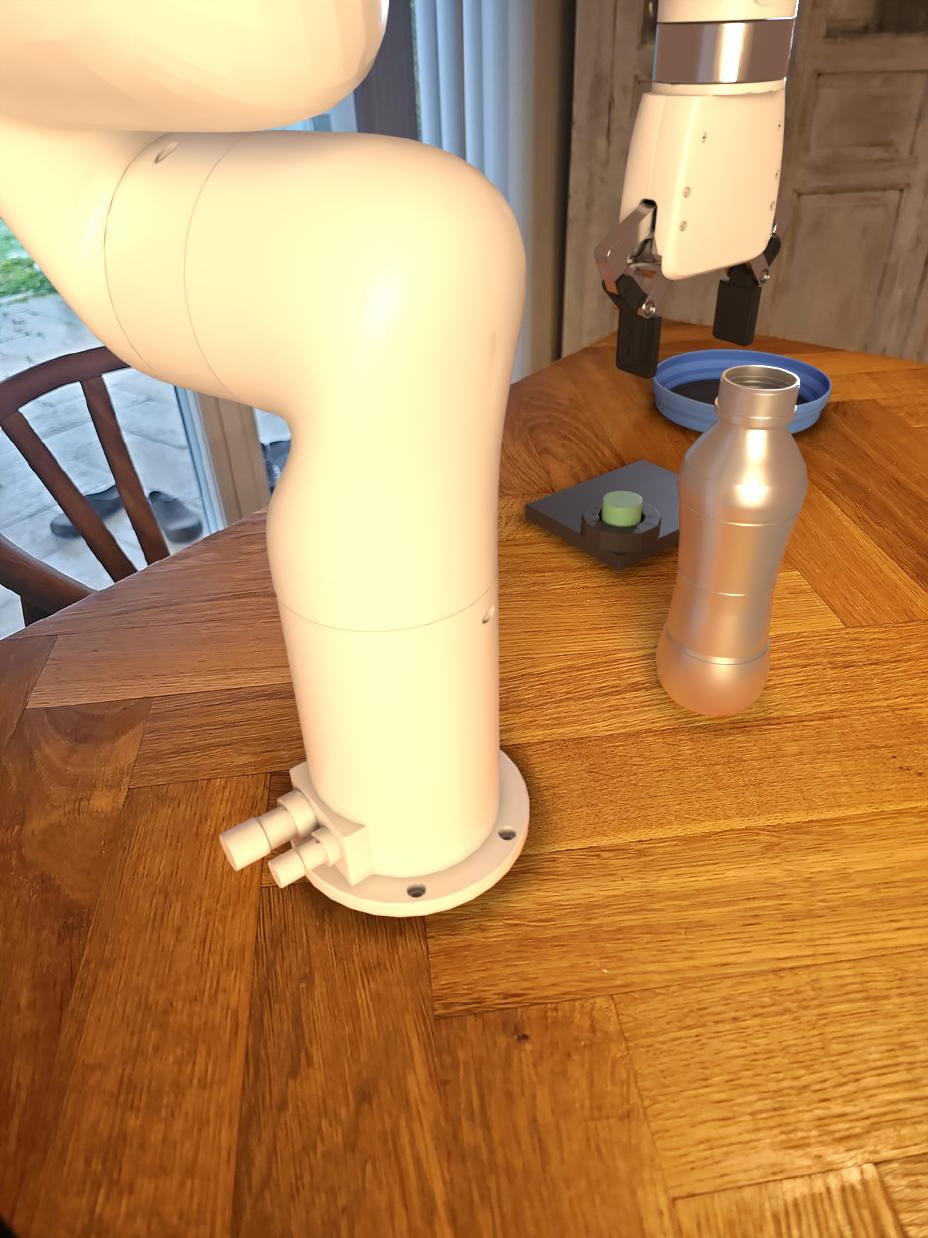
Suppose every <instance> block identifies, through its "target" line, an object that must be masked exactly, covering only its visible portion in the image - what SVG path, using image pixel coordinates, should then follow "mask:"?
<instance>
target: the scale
mask: <svg viewBox="0 0 928 1238" xmlns="http://www.w3.org/2000/svg"><path fill="white" fill-rule="evenodd" d="M614 491H628V492H633V493H635V494H637V495H639V496H640V497H641V498H642V500H643V503H642V512H641V521H640V523H639V524H637V525H635V526H630V527H617V526H612V525H608V524H606V523H604V522H603V521H602V504H603V497H604V496H605V495H606V494H608V493H610V492H614ZM525 520H528V521H529V522H531V523H533V524H535V525H536V526H538V527H540V528H542V529H543V530H544V531H547V532H548V533H550V534H552V535H554V536H555V537H557V538H559V539H561V540H563V541H564V542H566V543H567V544H570V545H571V546H573V547H575V548H577V549H578V550H580V551H582V552H583V553H585V554H587V555H588V556H590V557H592V558H594V559H595V560H598V561H600V562H601V563H603V564H604V565H606V566H608V567H610V568H611V569H613V570H615V571H617V572H621V571H623V570H625V569H627V568H629V567H632V566H635V565H636V564H638V563H640V562H642V561H644V560H647V559H649V558H650V557H653V556H655V555H657V554H659V553H662V552H663V551H665V550H667V549H670V548H672V547H674V546H676V545H679V535H680V530H679V504H678V473H676V472H673V471H670V470H669V469H667V468H664V467H662V466H659V465H657V464H654V463H652V462H651V461H648V460H646V459H643V458H642V459H639V460H637V461H634V462H631V463H629V464H626V465H624V466H622V467H619V468H616V469H614V470H611V471H609V472H606V473H603V474H601V475H598V476H596V477H593V478H591V479H588V480H585V481H582V482H581V483H577V484H575V485H573V486H570V487H568V488H564V489H562V490H560V491H559V490H558V491H557V492H554V493H552V494H549V495H547V496H544V497H541V498H539V499H536V500H533V501H531V502H529V503H526V504H525Z"/></svg>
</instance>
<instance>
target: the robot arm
mask: <svg viewBox="0 0 928 1238" xmlns="http://www.w3.org/2000/svg"><path fill="white" fill-rule="evenodd" d="M798 4H799V0H658V3H657V16H656V23H657V24H656V29H655V42H654V54H653V66H652V67H653V68H652V77H651V78H652V81H651V91H649V92H643V93H642V95H641V99H640V102H639V105H638V109H637V113H636V116H635V120H634V125H633V129H632V133H631V138H630V144H629V148H628V154H627V160H626V164H625V165H626V166H625V172H624V178H623V186H622V194H621V201H620V210H619V220H618V225H616V226H615V227H614V228H613V229H612V230H611V231H610V232H609V233H608V234H607V235H606V236H605V237H604V238H603V239H602V240H601V241H599V243H597V245H596V246H595V248H594V251H593V257H594V260H595V263H596V266H597V269H598V272H599V275H600V278H601V279H602V280H601V288H602V289H603V291H604V292H605V293H606V294H607V296H608V298H609V300H611V307H612V309H613V310H615V311H618V321H617V322H618V323H617V335H616V351H615V367H616V369H618V370H619V371H622V372H625V373H627V374H630V375H633V376H636V377H639V378H641V379H644V380H650V379H652V378H653V377H655V375H656V373H657V365H658V364H659V355H660V344H661V336H662V335H661V334H662V325H663V324H662V323H663V321H662V319H663V317H662V315H659V314H655V313H656V311H657V310H658V308H659V306H660V305H661V302H662V301H663V300H664V297H665V295H666V294H667V292H668V290H669V289H670V287H671V285H672V284H673V282H674V281H681V280H685V279H691V278H694V277H698V276H702V275H705V274H709V273H713V272H717V271H721V270H724V273H725V275H726V277H727V278H728V279H727V278H721V279H719V281H718V286H717V294H716V302H715V309H714V316H713V325H712V333H711V334H712V336H713V338H714V339H716V340H720V341H723V342H727V343H731V344H734V345H738V346H740V347H747V346H750V345H752V344H753V343H754V339H755V333H756V326H757V321H758V314H759V307H760V302H761V296H762V290H763V287H762V286H764V285H766V284H767V283H768V281H769V279H770V276H771V269H770V267H771V265H772V263H773V262H774V260H775V259H776V258H777V256H778V255H779V253H780V251H781V248H782V240H783V238H784V236H785V233H786V232H787V229H788V226H789V225H790V222H791V220H792V218H793V214H794V208H793V206H792V205H790V204H789V203H788V202H786V201H785V200H784V199H783V198H782V197H780V196H779V188H780V180H781V170H782V160H783V150H784V149H783V148H784V135H785V134H784V133H785V114H786V113H785V111H786V81H787V75H788V69H789V63H790V56H791V50H792V45H793V38H794V31H795V24H796V17H797V12H798V6H799V5H798ZM389 7H390V0H0V218H1V219H2V221H3V222H4V223H5V225H6V226H7V227H8V229H9V230H10V232H11V233H12V234H13V235H14V237H15V238H16V239H17V241H18V242H19V243H20V244H21V246H22V247H23V248H24V250H25V251H26V252H27V254H28V255H29V256H30V258H31V259H32V260H33V262H34V263H35V264H36V265H37V266H38V268H39V269H40V271H41V272H42V273H43V275H44V276H45V277H46V279H47V280H48V281H49V282H50V284H51V285H52V286H53V288H54V289H55V290H56V292H57V293H58V294H59V295H60V297H61V298H62V300H63V301H64V302H65V303H66V304H67V305H68V307H69V308H70V310H71V311H72V312H73V313H74V314H75V315H76V316H77V318H78V319H79V320H80V322H81V323H83V325H84V326H85V327H86V328H87V329H88V330H89V331H90V332H91V333H92V334H93V336H94V337H95V338H96V339H97V340H98V341H99V342H101V344H102V345H104V347H106V348H107V349H108V351H110V352H111V353H112V354H113V355H115V356H116V357H117V358H118V359H119V360H121V361H122V362H124V363H125V364H126V365H128V366H130V367H131V368H133V369H134V370H136V371H138V372H140V373H141V374H144V375H146V376H148V377H150V378H151V379H155V380H156V381H159V382H162V383H166V384H168V385H171V386H175V387H178V388H181V389H184V390H187V391H192V392H196V393H199V394H203V395H207V396H210V397H215V398H219V399H223V400H226V401H231V402H235V403H238V404H241V405H245V406H249V407H251V408H253V409H255V410H258V411H262V412H265V413H269V414H272V415H274V416H277V417H279V418H281V419H282V420H283V421H284V422H285V423H286V425H287V427H288V429H289V433H290V445H289V452H288V455H287V459H286V462H285V464H284V466H283V469H282V471H281V473H280V475H279V478H278V480H277V482H276V485H275V487H274V488H273V491H272V494H271V496H270V500H269V504H268V507H267V512H266V521H265V542H266V543H265V544H266V551H267V559H268V560H267V561H268V565H269V571H270V576H271V581H272V586H273V590H274V593H275V599H276V602H277V609H278V614H279V618H280V623H281V629H282V634H283V635H282V636H283V639H284V640H283V641H284V645H285V646H284V647H285V650H286V656H287V661H288V666H289V673H290V677H291V683H292V688H293V693H294V698H295V704H296V709H297V714H298V715H297V716H298V721H299V725H300V731H301V735H302V742H303V747H304V753H305V757H306V759H305V760H303V762H300V763H298V764H296V765H294V766H292V767H291V768H289V771H288V772H289V775H290V781H291V785H292V790H290V791H289V792H287V793H285V794H282V795H280V796H279V797H278V798H277V799H276V805H277V807H275V808H273V809H271V810H269V811H267V812H265V813H263V814H261V815H259V816H258V817H254V816H252V817H250V818H248V819H246V820H245V821H243V822H241V823H239V824H237V825H235V826H233V827H230V828H229V829H227V830H224V831H223V832H221V833H219V835H218V839H219V842H220V845H221V848H222V850H223V852H224V854H225V857H226V858H227V860H228V862H229V864H230V865H231V868H232V869H234V871H235V872H238V871H240V870H241V869H243V868H246V867H247V866H249V865H251V864H253V863H255V862H256V861H258V860H260V859H262V858H264V857H265V856H267V855H270V854H271V853H272V851H273V850H275V849H277V848H279V847H280V846H283V845H284V844H285V843H288V842H290V845H291V848H290V849H289V850H287V851H284V852H283V853H281V854H279V855H278V856H276V857H274V858H272V859H270V860H269V861H267V866H268V868H269V871H270V874H271V876H272V878H273V880H274V882H276V885H277V886H278V887H279V888H280V889H283V888H286V887H287V886H288V885H290V884H292V883H294V882H296V881H298V880H300V879H301V878H303V877H304V876H305V877H306V879H308V880H309V883H311V884H312V885H313V886H314V888H316V889H317V890H318V891H320V892H321V893H323V894H324V895H325V896H326V897H328V898H329V899H330V900H332V901H334V902H337V903H339V904H341V905H343V906H345V907H347V908H349V909H351V910H355V911H358V912H362V913H366V914H369V915H372V916H373V915H374V916H384V917H395V918H407V917H418V916H419V917H420V916H427V915H432V914H436V913H439V912H444V911H448V910H451V909H453V908H456V907H458V906H461V905H464V904H465V903H467V902H470V901H473V900H474V899H475V898H477V897H479V896H480V895H481V894H483V893H485V892H487V891H488V890H489V889H491V888H492V887H494V886H495V885H496V883H498V882H499V881H500V880H501V879H502V878H503V877H504V876H505V875H506V874H507V873H508V872H509V871H510V869H512V867H513V866H514V864H515V862H516V861H517V859H518V858H519V856H520V855H521V854H522V850H523V849H524V845H525V843H526V841H527V837H528V833H529V827H530V826H529V825H530V797H529V793H528V789H527V784H526V782H525V779H524V777H523V776H522V774H521V771H520V770H519V767H518V766H517V765H516V764H515V762H514V761H512V759H511V758H510V757H509V756H508V754H506V753H505V752H504V751H503V750H502V749H500V747H501V746H500V744H501V743H500V742H501V741H500V611H499V610H500V606H499V605H500V600H499V599H500V597H499V595H500V594H499V593H500V592H499V591H500V590H499V589H500V588H499V585H500V583H499V582H500V581H499V580H500V579H499V578H500V577H499V491H500V490H499V487H500V486H499V485H500V472H501V455H502V445H503V438H504V435H503V434H504V427H505V419H506V413H507V407H508V401H509V397H510V396H509V395H510V390H511V384H512V378H513V373H514V369H515V363H516V358H517V354H518V349H519V344H520V339H521V334H522V329H523V327H522V326H523V320H524V313H525V308H526V307H525V306H526V298H527V297H526V296H527V276H528V273H527V272H528V271H527V259H526V252H525V251H526V250H525V245H524V239H523V236H522V232H521V228H520V227H519V223H518V221H517V218H516V216H515V214H514V212H513V210H512V208H511V207H510V205H509V203H508V201H507V199H506V198H505V196H504V195H503V193H502V192H501V191H500V190H499V188H498V187H497V186H496V185H495V184H494V182H492V181H491V180H490V179H489V177H487V176H486V175H485V174H484V173H483V172H482V171H480V170H479V169H478V168H476V167H475V166H474V165H473V164H471V163H470V162H468V161H467V160H465V159H464V158H462V157H460V156H457V155H455V154H454V153H451V152H449V151H447V150H444V149H443V148H440V147H439V146H435V145H432V144H428V143H424V142H422V141H418V140H415V139H411V138H406V137H400V136H399V137H398V136H392V135H385V134H378V133H371V132H370V133H369V132H354V131H353V132H352V131H330V130H329V131H326V130H304V129H303V130H301V129H299V130H298V129H279V128H284V127H290V126H292V125H295V124H298V123H301V122H304V121H306V120H309V119H312V118H314V117H317V116H320V115H323V114H324V113H326V112H327V111H329V110H331V109H333V108H335V107H336V106H337V105H339V104H340V103H341V102H342V101H343V100H345V99H346V98H347V97H348V96H349V95H350V94H351V93H353V91H354V90H356V88H358V87H359V86H360V85H361V84H362V82H363V81H364V80H365V78H367V76H368V74H369V72H370V71H371V68H372V67H373V65H374V63H375V60H376V58H377V56H378V53H379V50H380V48H381V44H382V42H383V39H384V36H385V33H386V28H387V22H388V16H389ZM646 278H647V279H649V280H650V282H649V283H648V285H647V287H646V289H645V291H644V290H643V289H642V287H641V285H642V284H643V282H644V280H645V279H646Z"/></svg>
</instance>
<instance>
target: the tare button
mask: <svg viewBox="0 0 928 1238" xmlns="http://www.w3.org/2000/svg"><path fill="white" fill-rule="evenodd" d="M642 503H643V500H642V498H641V497H640V496H639V495H637V494H635V493H633V492H628V491H614V492H610V493H608V494H606V495H605V496H604V497H603V504H602V521H603V522H604V523H606V524H608V525H612V526H617V527H630V526H635V525H637V524H639V523H640V521H641V512H642Z"/></svg>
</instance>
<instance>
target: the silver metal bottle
mask: <svg viewBox="0 0 928 1238" xmlns="http://www.w3.org/2000/svg"><path fill="white" fill-rule="evenodd" d="M799 387H800V379H799V377H798V376H797V375H795V374H793V373H792V372H789V371H787V370H783V369H780V368H775V367H769V366H759V365H745V366H737V367H732V368H729V369H727V370H725V371H724V372H723V374H722V377H721V380H720V387H719V393H718V397H717V398H716V400H715V405H714V412H715V413H716V415H717V416H719V417H718V419H717V421H715V422H714V423H713V424H712V425H711V426H710V427H709V428H708V429H707V430H706V431H705V432H704V433H703V432H702V433H701V435H699V437H697V438H696V440H695V442H693V443H692V444H691V445H690V447H689V448H688V449H686V452H685V453H684V456H683V459H682V460H681V463H680V465H679V468H678V473H677V474H678V504H679V530H680V535H679V543H678V552H677V557H678V558H677V559H678V562H677V566H676V579H675V584H674V588H673V593H672V597H671V602H670V606H669V610H668V615H667V619H666V621H665V622H664V625H663V627H662V630H661V633H660V637H659V640H658V644H657V648H656V652H655V661H656V672H657V678H658V681H659V683H660V685H661V686H662V688H663V689H664V691H665V692H666V693H667V695H668V696H669V698H671V700H673V702H675V703H676V704H678V706H680V707H682V708H683V709H686V710H688V711H690V712H692V713H696V714H699V715H703V716H709V717H711V716H712V717H726V716H727V717H728V716H731V715H735V714H739V713H741V712H742V711H744V710H746V709H748V708H749V707H750V706H752V705H753V704H755V703H756V702H757V701H758V699H759V698H760V697H761V695H762V693H763V690H764V688H765V686H766V684H767V682H768V679H769V678H770V671H771V652H772V651H771V640H770V632H771V631H770V630H771V621H772V613H773V612H772V611H773V602H774V593H775V590H776V587H777V584H778V575H779V574H780V571H781V568H782V564H783V560H784V557H785V554H786V550H787V547H788V544H789V541H790V539H791V537H792V534H793V531H794V529H795V526H796V523H797V521H798V518H799V516H800V513H801V510H802V506H803V505H804V502H805V500H806V495H807V492H808V490H809V479H808V477H809V476H808V470H807V468H808V467H807V464H806V462H805V459H804V458H803V455H802V453H801V450H800V448H799V445H798V444H797V442H796V440H795V439H794V437H793V435H792V434H791V433H790V431H789V430H788V428H787V424H788V423H790V422H792V421H793V420H794V419H795V416H796V411H797V406H796V401H797V396H798V392H799Z"/></svg>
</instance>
